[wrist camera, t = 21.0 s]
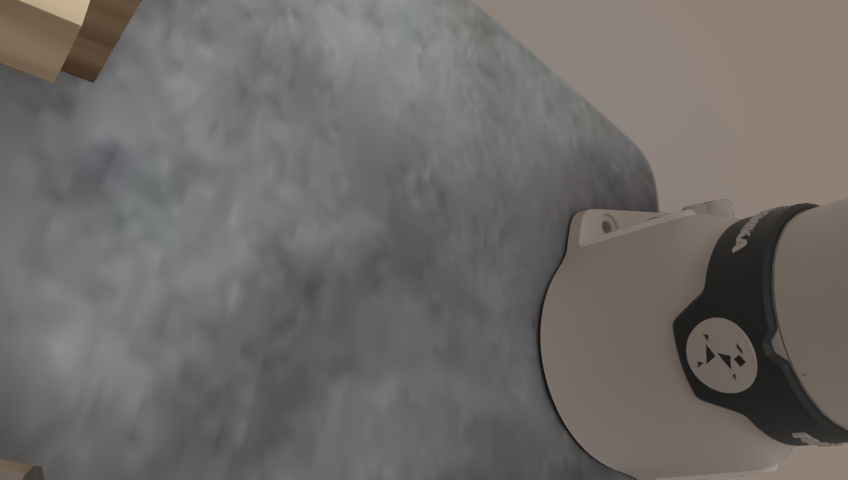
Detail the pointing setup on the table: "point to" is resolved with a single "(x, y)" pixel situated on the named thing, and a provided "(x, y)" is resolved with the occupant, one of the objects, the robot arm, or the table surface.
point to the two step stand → (98, 36)
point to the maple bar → (39, 34)
